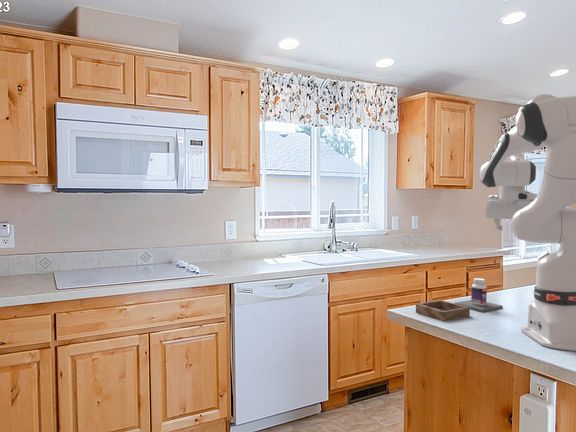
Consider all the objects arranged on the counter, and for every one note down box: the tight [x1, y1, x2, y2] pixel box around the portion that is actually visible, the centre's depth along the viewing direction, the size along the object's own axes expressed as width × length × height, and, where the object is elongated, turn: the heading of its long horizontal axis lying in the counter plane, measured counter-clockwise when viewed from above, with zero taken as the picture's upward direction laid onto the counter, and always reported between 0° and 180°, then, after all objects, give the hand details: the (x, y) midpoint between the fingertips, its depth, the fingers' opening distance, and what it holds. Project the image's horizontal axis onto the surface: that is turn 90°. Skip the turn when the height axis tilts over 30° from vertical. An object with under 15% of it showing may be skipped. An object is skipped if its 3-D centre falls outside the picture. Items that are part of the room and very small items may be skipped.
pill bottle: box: [470, 277, 488, 306], centre depth 167 cm, size 5×5×10 cm
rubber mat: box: [454, 299, 503, 313], centre depth 167 cm, size 12×12×1 cm
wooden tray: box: [415, 299, 471, 321], centre depth 157 cm, size 13×13×3 cm
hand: (511, 231), depth 169 cm, fingers open, 8 cm apart
